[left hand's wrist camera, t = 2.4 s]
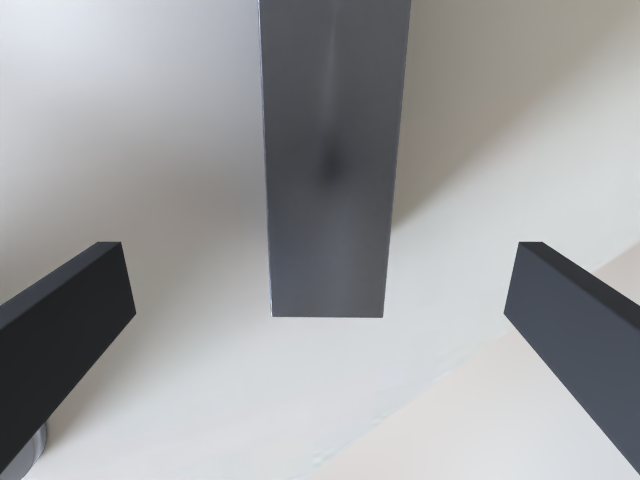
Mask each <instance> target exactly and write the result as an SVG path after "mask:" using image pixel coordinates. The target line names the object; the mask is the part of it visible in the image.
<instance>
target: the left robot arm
mask: <svg viewBox="0 0 640 480" xmlns="http://www.w3.org/2000/svg"><path fill="white" fill-rule="evenodd" d="M135 315H136V309H135V305H134V300H133V295H132V291H131V286H130V281H129V277H128V272H127V267H126V263H125V258H124V254H123V249H122V244H121V242H97V243H95V244H94V245H92V246H91V247H89V248H88V249H86V250H85V251H83V252H82V253H80V254H79V255H77V256H76V257H74V258H73V259H71V260H69V261H68V262H66V263H65V264H63V265H62V266H60V267H59V268H57V269H56V270H54V271H53V272H51V273H50V274H48V275H47V276H45V277H44V278H42V279H41V280H39V281H38V282H36V283H35V284H33V285H31V286H30V287H28V288H27V289H25V290H24V291H22V292H21V293H19V294H18V295H16V296H15V297H13V298H12V299H10V300H9V301H7V302H6V303H4V304H3V305H1V306H0V480H21V479H22V478H23V477H24V476H25V475H26V474H27V472H28V471H29V470H30V469H31V467H32V466H33V465H34V463H35V462H36V461H37V460H38V458H39V457H40V455H41V454H42V452H43V450H44V447H45V443H46V436H47V434H46V425H45V421H46V420H47V419H48V418H49V417H50V415H51V414H52V413H53V412H54V411H55V409H56V408H57V407H58V406H59V405H60V403H61V402H62V401H63V400H64V399H65V398H66V396H67V395H68V394H69V393H70V392H71V390H72V389H73V388H74V387H75V386H76V385H77V383H78V382H79V381H80V380H81V379H82V377H83V376H84V375H85V374H86V373H87V371H88V370H89V369H90V368H91V367H92V366H93V364H94V363H95V362H96V361H97V360H98V358H99V357H100V356H101V355H102V354H103V353H104V351H105V350H106V349H107V348H108V347H109V345H110V344H111V343H112V342H113V341H114V339H115V338H116V337H117V336H118V335H119V334H120V332H121V331H122V330H123V329H124V328H125V326H126V325H127V324H128V323H129V322H130V320H131V319H132V318H133V317H134V316H135ZM504 315H505V316H506V317H507V318H508V319H509V320H510V322H511V323H512V324H513V325H514V326H515V328H516V329H517V330H518V331H519V332H520V333H521V335H522V336H523V337H524V338H525V339H526V341H527V342H528V343H529V344H530V345H531V347H532V348H533V349H534V350H535V351H536V352H537V354H538V355H539V356H540V357H541V358H542V360H543V361H544V362H545V363H546V364H547V366H548V367H549V368H550V369H551V370H552V371H553V373H554V374H555V375H556V376H557V377H558V379H559V380H560V381H561V382H562V383H563V384H564V386H565V387H566V388H567V389H568V390H569V392H570V393H571V394H572V395H573V396H574V398H575V399H576V400H577V401H578V402H579V403H580V405H581V406H582V407H583V408H584V409H585V411H586V412H587V413H588V414H589V415H590V417H591V418H592V419H593V420H594V421H595V422H596V424H597V425H598V426H599V427H600V428H601V430H602V431H603V432H604V433H605V434H606V436H607V437H608V438H609V439H610V440H611V441H612V443H613V444H614V445H615V446H616V447H617V449H618V450H619V451H620V452H621V453H622V454H623V456H624V457H625V458H626V459H627V460H628V462H629V463H630V464H631V465H632V466H633V468H634V469H635V470H636V471H637V472H638V473H639V475H640V306H639V305H637V304H636V303H634V302H633V301H631V300H630V299H628V298H627V297H625V296H624V295H622V294H621V293H619V292H618V291H616V290H615V289H613V288H612V287H610V286H608V285H607V284H605V283H604V282H602V281H601V280H599V279H598V278H596V277H595V276H593V275H592V274H590V273H589V272H587V271H586V270H584V269H583V268H581V267H580V266H578V265H577V264H575V263H574V262H572V261H571V260H569V259H567V258H566V257H564V256H563V255H561V254H560V253H558V252H557V251H555V250H554V249H552V248H551V247H549V246H548V245H546V244H545V243H543V242H519V244H518V249H517V254H516V258H515V263H514V267H513V272H512V277H511V281H510V286H509V291H508V295H507V300H506V305H505V309H504Z"/></svg>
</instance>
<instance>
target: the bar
mask: <svg viewBox="0 0 640 480" xmlns="http://www.w3.org/2000/svg"><path fill="white" fill-rule="evenodd" d="M410 7H411V0H258V13H259V37H260V61H261V85H262V109H263V132H264V156H265V180H266V204H267V228H268V252H269V275H270V299H271V316H272V317H359V318H382V317H383V311H384V300H385V288H386V277H387V266H388V255H389V243H390V232H391V221H392V209H393V198H394V187H395V176H396V164H397V153H398V142H399V131H400V119H401V108H402V97H403V85H404V74H405V63H406V52H407V40H408V29H409V18H410Z"/></svg>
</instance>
